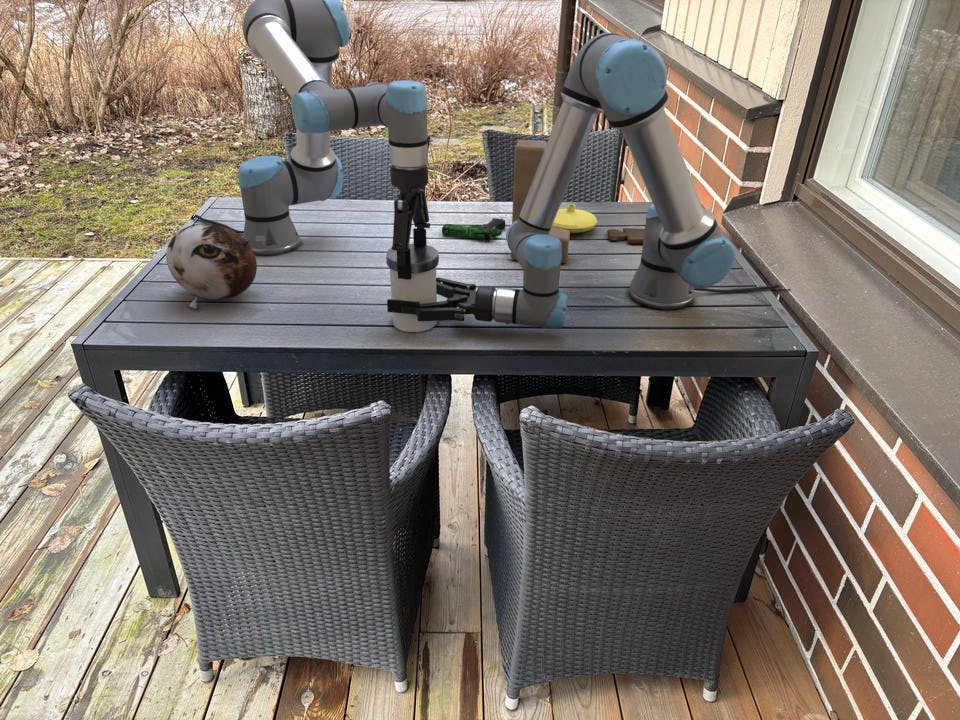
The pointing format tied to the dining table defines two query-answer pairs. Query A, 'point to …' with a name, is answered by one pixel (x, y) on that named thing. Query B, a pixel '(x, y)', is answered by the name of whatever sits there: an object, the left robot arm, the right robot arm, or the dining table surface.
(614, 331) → the dining table surface
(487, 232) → the handgun
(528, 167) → the decorative block
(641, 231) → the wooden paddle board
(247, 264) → the cat face ball
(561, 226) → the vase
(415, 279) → the jar
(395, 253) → the lid
